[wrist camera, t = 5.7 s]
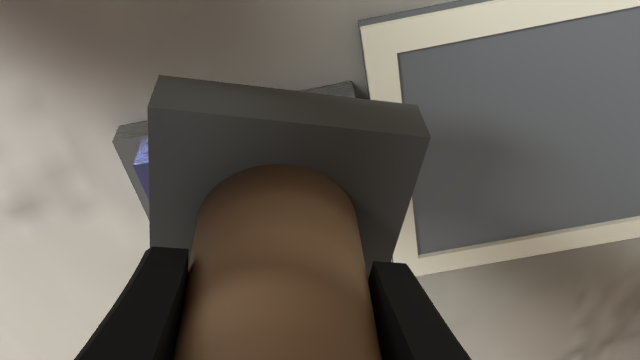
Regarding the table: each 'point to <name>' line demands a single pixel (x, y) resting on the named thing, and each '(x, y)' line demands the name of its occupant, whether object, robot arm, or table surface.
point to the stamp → (278, 214)
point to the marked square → (514, 125)
